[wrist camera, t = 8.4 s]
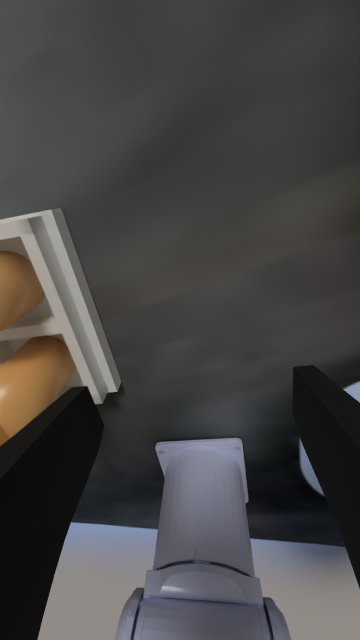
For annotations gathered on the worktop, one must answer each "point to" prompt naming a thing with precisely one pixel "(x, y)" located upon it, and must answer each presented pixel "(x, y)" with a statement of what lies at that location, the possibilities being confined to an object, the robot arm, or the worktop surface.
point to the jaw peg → (32, 381)
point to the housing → (51, 299)
